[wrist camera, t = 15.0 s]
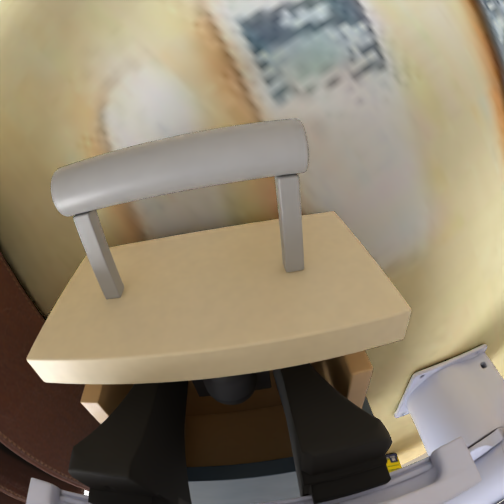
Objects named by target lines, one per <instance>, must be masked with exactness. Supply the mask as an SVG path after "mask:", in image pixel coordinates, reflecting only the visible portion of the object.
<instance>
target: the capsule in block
mask: <svg viewBox="0 0 504 504" xmlns="http://www.w3.org/2000/svg"><path fill="white" fill-rule="evenodd" d="M192 382H193V384H194V386H195V389H196V391H197V393H198V395H199V397H204V396H211V397H212V398H214V399H215V400H216V401H218V402H220V403H222V404H226V405H237V404H240V403H243V402H245V401H246V400H247V399H249V398H250V397H251V396H252V394H253V393H254V391H255V390H261V389H268V388H271V387H272V386H271V379H270V372H269V371H263V372H256V373H250V374H243V375H235V376H227V377H219V378H210V379H201V380H192Z"/></svg>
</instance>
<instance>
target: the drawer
mask: <svg viewBox="0 0 504 504" xmlns="http://www.w3.org/2000/svg"><path fill="white" fill-rule="evenodd" d="M308 162H309V149H308V141H307V136H306V132H305V129H304V126H303V124H302V122H301V121H300V120H299V119H285V120H275V121H266V122H258V123H250V124H242V125H235V126H229V127H222V128H216V129H210V130H205V131H199V132H194V133H188V134H183V135H178V136H174V137H169V138H164V139H160V140H155V141H151V142H147V143H143V144H139V145H135V146H131V147H127V148H123V149H119V150H116V151H112V152H109V153H105V154H102V155H98V156H95V157H92V158H88V159H85V160H82V161H79V162H76V163H73V164H70V165H67V166H64V167H61V168H58V169H57V170H56V171H55V172H54V174H53V176H52V180H51V195H52V199H53V202H54V205H55V207H56V208H57V210H58V211H59V212H60V213H61V214H62V215H64V216H73V215H75V216H74V217H73V220H74V223H75V225H76V228H77V231H78V234H79V236H80V239H81V242H82V244H83V247H84V249H85V252H86V254H87V255H86V256H85V258H84V259H83V261H82V262H81V264H80V265H79V267H78V268H77V270H76V271H75V273H74V274H73V276H72V278H71V279H70V281H69V282H68V284H67V286H66V287H65V289H64V290H63V292H62V294H61V295H60V297H59V299H58V300H57V302H56V304H55V305H54V307H53V309H52V311H51V312H50V314H49V316H48V318H47V320H46V321H45V323H44V325H43V327H42V329H41V330H40V332H39V334H38V336H37V338H36V340H35V342H34V344H33V346H32V348H31V350H30V352H29V354H28V356H27V358H26V359H27V361H28V363H29V364H30V365H31V366H32V368H33V369H34V370H35V371H36V373H37V374H38V375H39V376H40V378H41V379H42V380H43V381H44V382H46V383H64V384H85V387H84V391H83V394H82V397H81V403H82V405H83V406H84V407H85V408H86V409H87V410H88V411H89V412H90V413H91V414H92V415H93V417H94V418H95V419H96V420H97V421H98V422H99V423H100V424H102V423H103V422H104V421H105V420H106V419H107V418H108V417H109V416H110V415H111V413H112V412H113V411H114V410H115V409H116V408H117V407H118V405H119V404H120V403H121V402H122V400H123V399H124V398H125V397H126V395H127V394H128V392H129V391H130V390H131V388H132V387H133V385H134V384H144V383H163V382H178V381H188V393H187V404H186V415H185V432H184V434H185V454H186V466H187V467H205V466H222V465H235V464H245V463H253V462H261V461H269V460H275V459H281V458H287V457H293V453H292V447H291V442H290V436H289V431H288V426H287V421H286V416H285V413H284V409H283V406H282V402H281V399H280V396H279V392H278V389H277V385H276V382H275V379H274V375H273V371H272V370H275V369H281V368H287V367H292V366H297V365H302V364H308V363H310V364H311V365H312V367H313V368H314V369H315V370H316V371H317V372H318V373H319V374H320V375H321V376H322V377H323V378H324V379H325V380H326V381H327V382H328V383H329V384H330V385H331V386H332V387H333V388H335V389H336V390H337V391H338V392H339V393H341V394H342V395H343V396H345V397H346V398H347V399H348V400H350V401H351V402H352V403H354V404H355V405H357V406H358V407H360V408H361V409H362V406H363V403H364V400H365V396H366V393H367V390H368V386H369V383H370V379H371V376H372V372H373V366H372V364H371V362H370V360H369V358H368V356H367V354H366V352H365V350H368V349H372V348H375V347H379V346H383V345H386V344H390V343H393V342H397V341H400V340H403V339H404V337H405V334H406V331H407V327H408V323H409V320H410V316H411V312H412V310H411V308H410V306H409V305H408V303H407V302H406V301H405V299H404V298H403V297H402V295H401V294H400V293H399V291H398V290H397V288H396V287H395V286H394V284H393V283H392V282H391V281H390V279H389V278H388V277H387V275H386V274H385V273H384V271H383V270H382V269H381V267H380V266H379V265H378V264H377V262H376V261H375V260H374V259H373V257H372V256H371V255H370V254H369V252H368V251H367V250H366V249H365V247H364V246H363V245H362V244H361V242H360V241H359V240H358V239H357V238H356V236H355V235H354V234H353V233H352V231H351V230H350V229H349V228H348V227H347V226H346V224H345V223H344V222H343V221H342V220H341V218H340V217H339V216H338V215H337V214H336V213H335V211H330V212H323V213H316V214H309V215H302V213H301V197H300V183H299V176H298V175H297V173H304V172H306V170H307V168H308ZM273 176H275V186H276V195H277V205H278V216H279V219H274V220H268V221H261V222H254V223H248V224H242V225H235V226H229V227H223V228H217V229H210V230H204V231H198V232H192V233H187V234H181V235H175V236H169V237H163V238H158V239H152V240H147V241H141V242H136V243H130V244H125V245H119V246H114V247H109V246H108V243H107V241H106V238H105V235H104V232H103V229H102V226H101V223H100V220H99V217H98V214H97V211H96V210H97V209H101V208H105V207H109V206H113V205H118V204H122V203H127V202H131V201H136V200H140V199H145V198H150V197H155V196H160V195H165V194H170V193H175V192H180V191H185V190H191V189H196V188H202V187H208V186H214V185H220V184H226V183H232V182H238V181H245V180H252V179H259V178H266V177H273ZM263 371H269V372H270V379H271V386H272V387H271V388H268V389H261V390H255V391H254V393H253V394H252V396H251V397H250V398H249V399H247V400H246V401H245V402H243V403H240V404H237V405H226V404H222V403H220V402H218V401H216V400H215V399H214V398H212V397H211V396H204V397H199V395H198V393H197V391H196V389H195V386H194V384H193V382H192V380H201V379H210V378H219V377H227V376H235V375H243V374H250V373H256V372H263Z"/></svg>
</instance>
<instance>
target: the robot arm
mask: <svg viewBox="0 0 504 504" xmlns="http://www.w3.org/2000/svg"><path fill="white" fill-rule="evenodd" d="M486 349H487V345H486V344H483V345H481V346H479V347H477V348H474V349H472V350H470V351H468V352H466V353H463V354H461V355H459V356H456V357H454V358H452V359H449V360H447V361H444V362H442V363H439V364H437V365H434V366H432V367H429V368H426V369H424V370H421V371H418V372H416V373H414V374H413V375H412V377H411V379H410V382H409V384H408V386H407V388H406V391H405V393H404V395H403V397H402V399H401V401H400V403H399V405H398V408H397V410H396V412H395V414H394V417H395V418H399V417H401V416H404V415H407V414H409V413H410V415H411V417H412V420H413V422H414V424H415V426H416V428H417V431H418V433H419V435H420V437H421V440H422V442H423V444H424V447H425V449H426V451H427V454H428V456H429V457H427V458H425V459H422V460H420V461H418V462H415V463H413V464H410V465H408V466H406V467H403V468H400V469H398V470H395V471H393V472H390V473H389V471H388V468H387V465H386V464H387V458H386V455H385V454H386V452H387V451H388V449H389V448H390V446H391V444H392V440H391V437H390V435H389V433H388V431H387V429H386V428H385V426H384V425H383V423H382V422H381V421H380V420H379V419H378V418H376V417H374V416H372V415H371V414H369V413H367V412H366V411H364V410H363V409H361V408H360V407H358V406H357V405H355V404H354V403H352V402H351V401H350V400H348V399H347V398H346V397H345V396H343V395H342V394H341V393H339V392H338V391H337V390H336V389H335V388H333V387H332V386H331V385H330V384H329V383H328V382H327V381H326V380H325V379H324V378H323V377H322V376H321V375H320V374H319V373H318V372H317V371H316V370H315V369H314V368H313V367H312V365H311V364H310V363H308V364H302V365H297V366H292V367H287V368H281V369H275V370H272V371H273V375H274V379H275V382H276V385H277V389H278V392H279V396H280V399H281V402H282V406H283V409H284V413H285V416H286V421H287V426H288V431H289V436H290V442H291V447H292V453H293V458H294V464H295V469H296V475H297V481H298V487H299V492H300V497H298V498H293V499H287V500H280V501H273V502H266V503H257V504H497V503H498V502H500V501H502V500H503V499H504V379H503V378H502V376H501V375H500V373H499V372H498V370H497V369H496V367H495V366H494V365H493V363H492V362H491V360H490V359H489V357H488V356H487V355H486V353H485V351H486ZM187 393H188V381H178V382H163V383H144V384H134V385H133V387H132V388H131V390H130V391H129V392H128V394H127V395H126V397H125V398H124V399H123V400H122V402H121V403H120V404H119V405H118V407H117V408H116V409H115V410H114V411H113V412H112V413H111V415H110V416H109V417H108V418H107V419H106V420H105V421H104V422H103V423H102V424H101V425H100V426H98V427H97V428H96V429H95V430H94V431H93V432H92V433H91V434H89V435H88V436H87V437H86V438H84V439H83V440H82V441H80V442H79V443H78V444H76V445H75V446H73V450H72V453H71V458H70V463H69V469H68V472H69V474H70V475H71V476H72V477H73V478H75V479H76V480H78V481H79V482H81V483H83V484H84V485H86V486H88V487H89V488H90V490H89V496H85V495H81V494H77V493H73V492H69V491H65V490H61V489H60V488H58V487H57V486H55V485H53V484H51V483H48V482H45V481H42V480H39V479H36V478H31V480H30V485H29V490H28V495H27V500H26V504H192V502H191V496H190V490H189V483H188V475H187V466H186V454H185V434H184V432H185V415H186V404H187ZM499 504H504V501H502V502H501V503H499Z"/></svg>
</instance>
